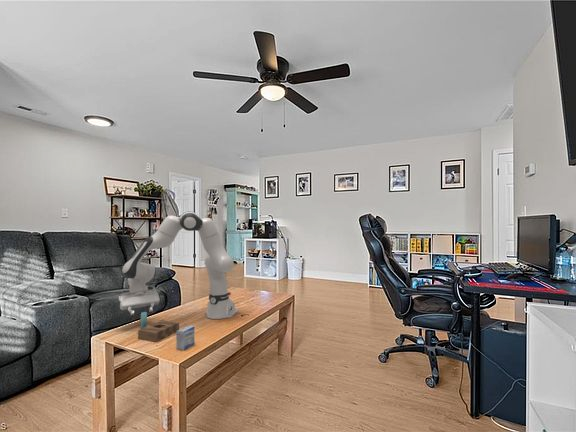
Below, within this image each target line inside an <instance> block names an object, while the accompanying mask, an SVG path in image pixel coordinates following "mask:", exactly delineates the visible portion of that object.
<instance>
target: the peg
mask: <svg viewBox="0 0 576 432" xmlns="http://www.w3.org/2000/svg"><path fill="white" fill-rule="evenodd" d="M147 326H148V311H142V312H141V313H140V329H142V328H144V327H147Z"/></svg>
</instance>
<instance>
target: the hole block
mask: <svg viewBox="0 0 576 432" xmlns="http://www.w3.org/2000/svg"><path fill="white" fill-rule="evenodd" d="M179 329H180V322H176V321H171V320H165V319H164V320H163V319H161V320H159V321H157V322H155V323H152V324H149V325H147V327H144V328H142V329H141V328H140V329H138V331H137V339H138V340H142V341H148V342H154V343H157V342H160V341H161V340H163V339H166V338H168V337H169V336H171V335H174V334H176V331H177V330H179Z"/></svg>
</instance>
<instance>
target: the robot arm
mask: <svg viewBox="0 0 576 432" xmlns="http://www.w3.org/2000/svg"><path fill="white" fill-rule="evenodd" d="M183 229H184V230H185V231H189V232H192V231H197V232H198V234H199V237H200V240H201V242H202V246H203V249H204V251H205V252H206V253H207V254H208V255H207V256H206V257H205V258H204V266H205V267H206V270H207V275H208V280H209V294H208V301H207V309H206V312H205V316H206V318H208V319H210V320H211V319H213V320H219V319H229V318H232V317H234V315H236V314H237V313H238V312H239V308H236V305H235V301H233V300H232V299H231V298H230V296H231V295H232V293H231V292H230V291H228V278H226V274H225V273H230V272H231V271H232V270H233V268H234V265H235V263H234V259H233V258H232V257H231V256H229V254H228V252H227V250H226V249H225V247H224V245H223V243H222V240H221V238H220V234H219V232H218V229H217V226H216V225H215V222H214V220H213V219H212V218H210V217H203V218H200V217H199V215H198V214H197V213H196V212H195V211H190V210H188V211H185V212H183V213H182V214H180V215H178V216H176V215H168V216H166V217H165V218H164V219H163V220H162V221H161V224H160V225H159V226H158V229H157V230H156V231H155V232H154V233H153V234H152V235H150V236H148V237H147V238H145V239H144V240H143V242H142V243H141V244H140V245H139V246H138V248H137V249H136V250H135V252H134V253H133V254H132V256H131V257H130V258H128V260H127V261H126V262H124V265H123V266H122V269H121V273H122V275H123V276H124V278H126V279H127V284H128V286H129V288H128V291H129V292H127V293H122V294H120V295H119V296H118V301H119V309H120V310H121V311H125V310H127V311H128V313H130V316H134V315H135V310H132V309H137V308H143V307H149V308H148V311H149V313H150V312H153V311H154V309H153V308H154V307H155V306H156V305H159V303H160V300H161V299H160V296H159V293H158V291H157V290H156V287H155V286H152V285H146V283H149V282H151V281H152V280H153V279H154V278H155V277H156V274H157V269H156V267H155V265H154V264H151V263H145V262H141V261H142V260H143V259H144V258H145V256H146V255H147V254H148V253H149V252H150V251H152V250H155V249H161V248H167V247H170V246H171V245H172V244H173V242H174V241H175V239H176V237H177V236H178V234H179V232H180V231H181V230H183Z"/></svg>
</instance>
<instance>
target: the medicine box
mask: <svg viewBox="0 0 576 432" xmlns="http://www.w3.org/2000/svg"><path fill="white" fill-rule="evenodd" d="M195 333H196V332H195V326H194V325H186V326H183V327H181V328H179V330H177V331H176V333H175V335H176V337H175V338H176V340H175V342H176V344H175V346H176V347H175V348H176V350H181V351H185V350H187V349H188V348H190V347H191V346H193V345H195Z"/></svg>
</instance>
